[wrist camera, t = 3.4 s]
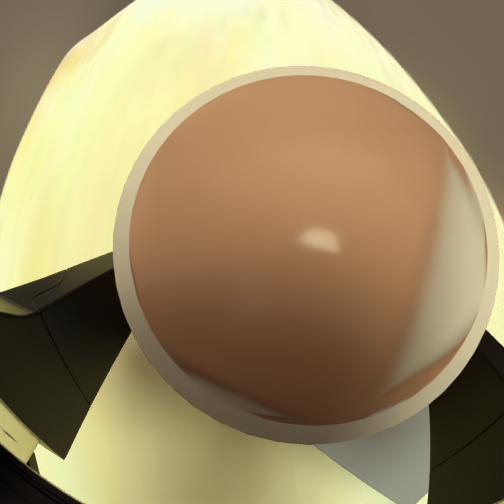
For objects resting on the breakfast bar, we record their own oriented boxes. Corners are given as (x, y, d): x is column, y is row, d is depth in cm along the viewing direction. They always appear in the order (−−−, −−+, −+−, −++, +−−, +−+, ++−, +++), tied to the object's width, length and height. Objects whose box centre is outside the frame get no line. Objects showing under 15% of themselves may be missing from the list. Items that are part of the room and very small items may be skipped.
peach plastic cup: (335, 368, 16) (468, 446, 3) (220, 345, 16) (75, 375, 4) (358, 221, 18) (457, 56, 5) (253, 202, 19) (213, 12, 6)
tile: (403, 504, 12) (408, 510, 11) (303, 432, 15) (305, 437, 14) (496, 392, 14) (505, 393, 13) (416, 304, 16) (423, 302, 15)
